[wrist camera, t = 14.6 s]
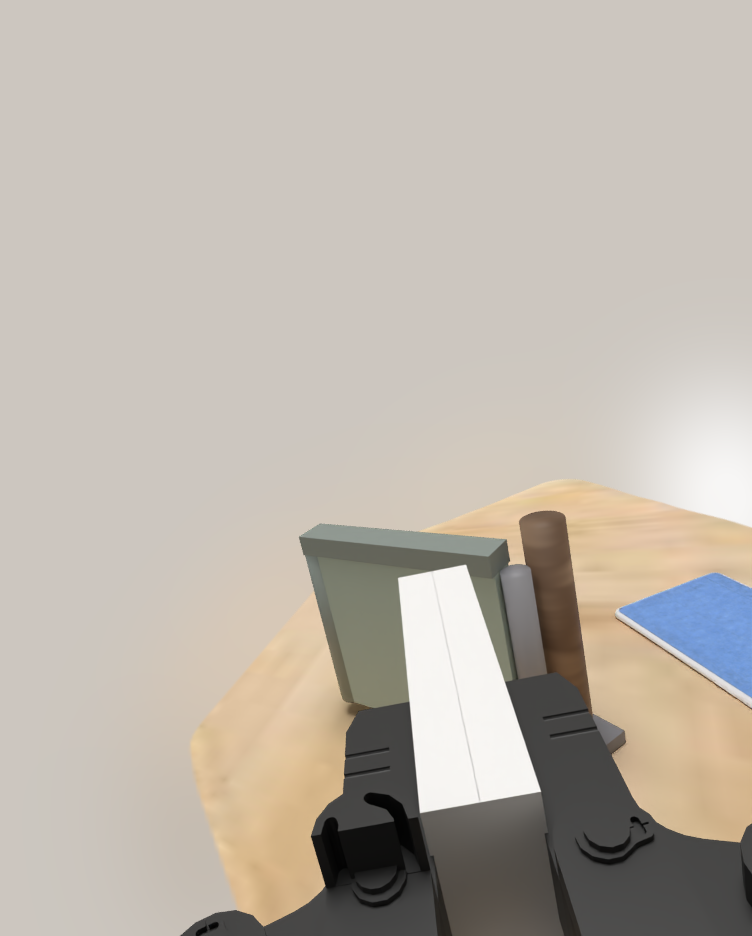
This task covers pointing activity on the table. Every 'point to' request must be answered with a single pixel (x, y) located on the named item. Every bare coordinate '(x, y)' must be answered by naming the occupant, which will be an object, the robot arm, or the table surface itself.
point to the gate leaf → (379, 610)
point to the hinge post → (560, 607)
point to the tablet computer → (702, 628)
